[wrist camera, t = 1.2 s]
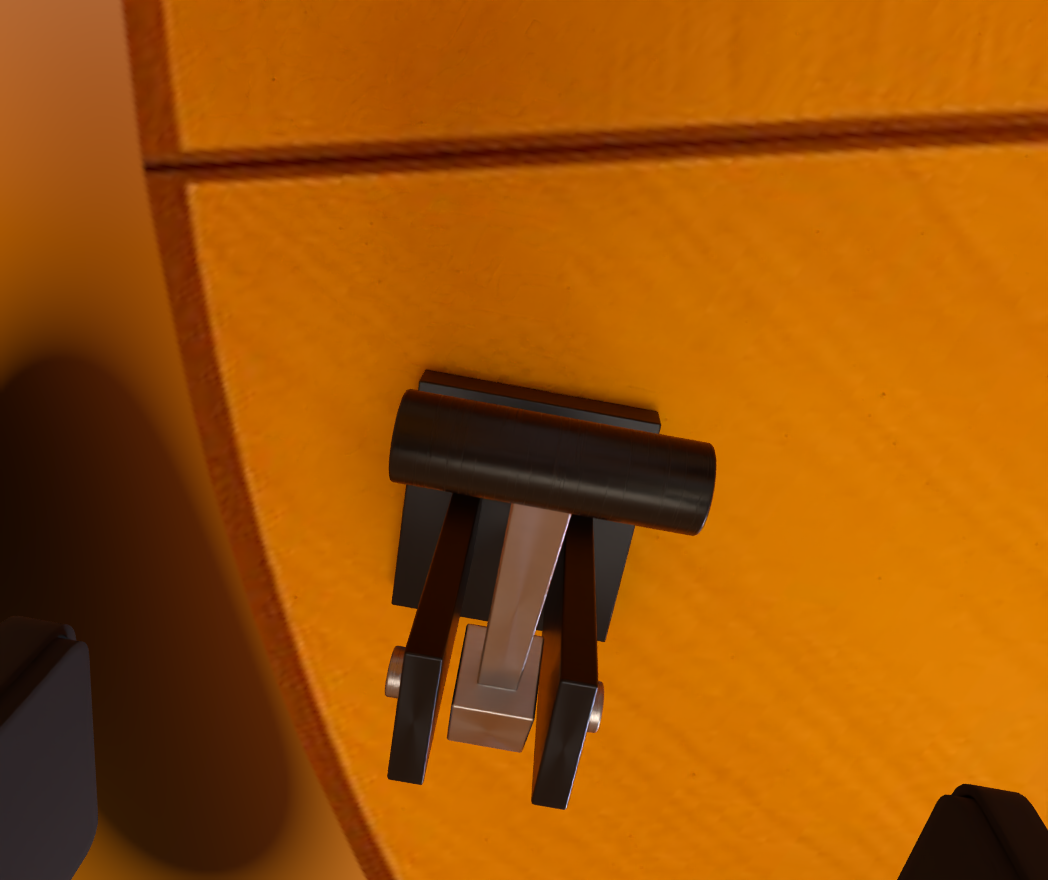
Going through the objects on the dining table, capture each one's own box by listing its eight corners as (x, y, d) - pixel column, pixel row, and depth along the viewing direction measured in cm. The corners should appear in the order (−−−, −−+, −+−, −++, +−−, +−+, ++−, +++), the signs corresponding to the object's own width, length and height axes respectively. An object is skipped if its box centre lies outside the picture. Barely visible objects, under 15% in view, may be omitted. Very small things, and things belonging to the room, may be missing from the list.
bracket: (425, 368, 31) (333, 544, 20) (658, 411, 31) (705, 610, 20) (397, 587, 35) (307, 839, 24) (604, 623, 36) (616, 893, 24)
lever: (414, 354, 15) (382, 461, 13) (716, 409, 15) (718, 521, 13) (408, 652, 25) (389, 730, 24) (585, 683, 25) (578, 763, 24)
